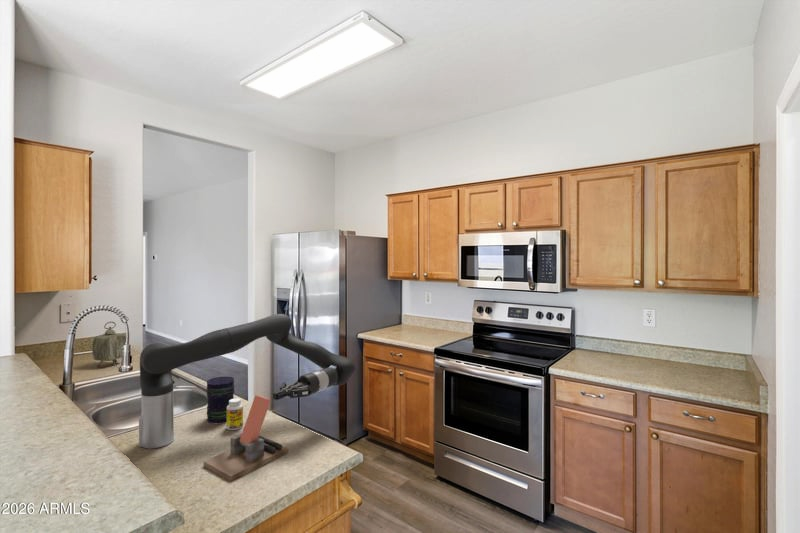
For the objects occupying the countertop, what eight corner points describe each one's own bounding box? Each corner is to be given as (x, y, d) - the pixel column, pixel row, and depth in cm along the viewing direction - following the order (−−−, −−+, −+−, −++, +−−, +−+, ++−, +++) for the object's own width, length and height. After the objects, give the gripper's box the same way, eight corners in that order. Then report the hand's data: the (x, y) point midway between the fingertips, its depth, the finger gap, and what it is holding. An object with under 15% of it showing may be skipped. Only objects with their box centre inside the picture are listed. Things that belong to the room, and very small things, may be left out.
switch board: (260, 441, 137) (260, 422, 136) (287, 452, 129) (287, 432, 128) (203, 466, 120) (203, 444, 120) (231, 481, 112) (230, 458, 112)
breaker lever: (244, 444, 126) (261, 396, 131) (254, 449, 123) (270, 399, 128) (238, 444, 124) (255, 395, 129) (247, 448, 122) (265, 398, 126)
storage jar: (207, 415, 158) (206, 378, 157) (234, 411, 162) (233, 375, 162) (206, 425, 149) (206, 385, 148) (235, 421, 153) (234, 382, 153)
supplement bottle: (228, 432, 143) (228, 403, 143) (225, 426, 148) (225, 399, 148) (244, 428, 146) (244, 400, 146) (241, 423, 151) (241, 396, 151)
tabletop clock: (115, 361, 237) (115, 319, 236) (128, 362, 235) (128, 320, 234) (92, 368, 222) (91, 323, 222) (106, 369, 221) (105, 324, 220)
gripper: (300, 369, 150) (261, 382, 136) (326, 375, 143) (287, 389, 129) (301, 389, 151) (261, 403, 136) (326, 396, 143) (287, 412, 129)
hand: (274, 396), depth 132 cm, fingers closed
